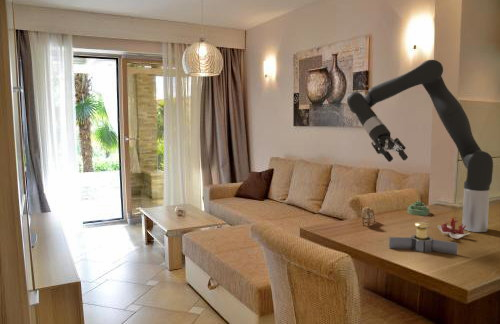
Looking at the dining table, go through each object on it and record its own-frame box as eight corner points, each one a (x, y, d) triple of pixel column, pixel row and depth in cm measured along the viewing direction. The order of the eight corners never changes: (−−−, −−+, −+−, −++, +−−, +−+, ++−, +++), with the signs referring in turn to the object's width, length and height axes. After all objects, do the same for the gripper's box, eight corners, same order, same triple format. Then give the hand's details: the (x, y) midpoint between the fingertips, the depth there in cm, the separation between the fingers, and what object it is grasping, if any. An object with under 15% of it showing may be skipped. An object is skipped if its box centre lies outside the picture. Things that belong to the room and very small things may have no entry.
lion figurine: (372, 228, 168) (372, 208, 168) (359, 227, 171) (359, 207, 170) (375, 220, 182) (376, 201, 181) (363, 219, 184) (364, 200, 183)
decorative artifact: (416, 216, 189) (434, 215, 192) (416, 202, 189) (434, 200, 191) (403, 212, 199) (420, 210, 201) (403, 198, 198) (420, 197, 201)
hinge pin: (416, 245, 146) (416, 221, 145) (430, 247, 143) (430, 223, 142) (412, 248, 142) (412, 224, 141) (427, 251, 139) (427, 226, 138)
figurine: (463, 244, 147) (464, 226, 146) (430, 238, 155) (431, 221, 154) (474, 235, 158) (475, 219, 157) (443, 230, 166) (443, 214, 165)
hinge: (395, 241, 151) (395, 231, 150) (458, 251, 139) (459, 240, 138) (388, 248, 143) (388, 237, 143) (454, 259, 131) (454, 247, 130)
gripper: (369, 123, 157) (392, 154, 149) (393, 123, 165) (416, 152, 156) (359, 136, 163) (380, 167, 154) (383, 135, 170) (405, 164, 161)
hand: (398, 159), depth 155 cm, fingers open, 8 cm apart
